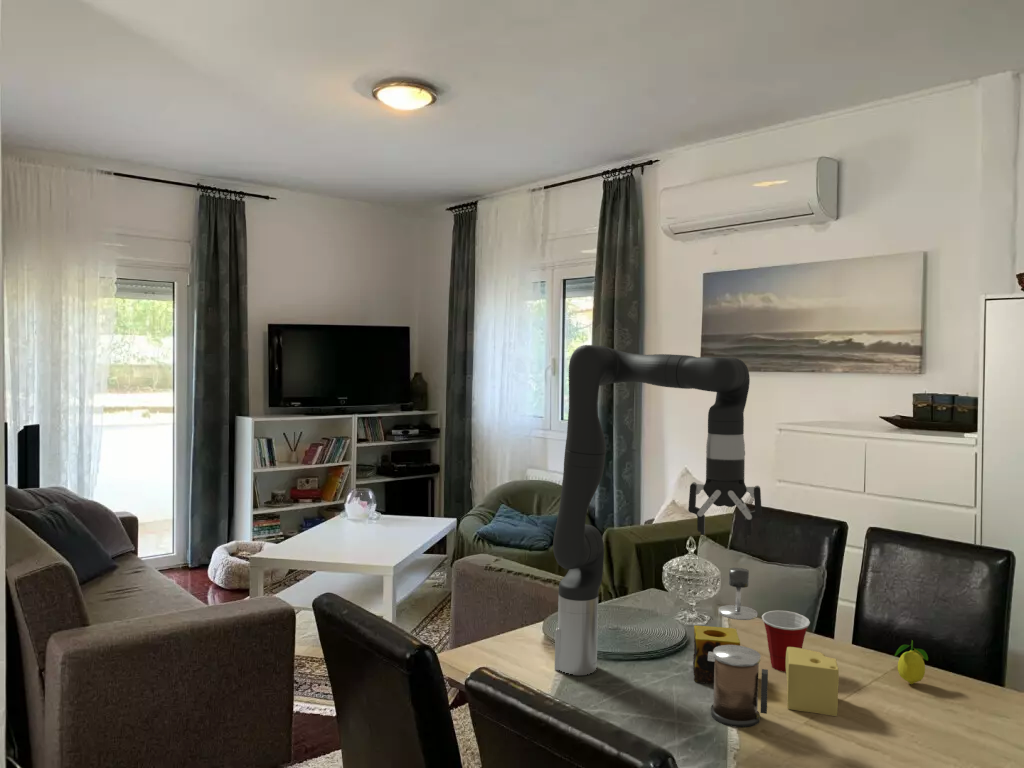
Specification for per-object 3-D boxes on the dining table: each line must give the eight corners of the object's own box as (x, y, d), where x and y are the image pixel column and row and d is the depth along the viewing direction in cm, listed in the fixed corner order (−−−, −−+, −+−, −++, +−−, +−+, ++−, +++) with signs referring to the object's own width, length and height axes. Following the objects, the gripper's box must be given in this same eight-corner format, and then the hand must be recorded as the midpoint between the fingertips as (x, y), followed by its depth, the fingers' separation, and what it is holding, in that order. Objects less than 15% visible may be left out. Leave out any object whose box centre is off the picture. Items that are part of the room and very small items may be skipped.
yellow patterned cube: (740, 687, 174) (741, 643, 174) (693, 683, 176) (694, 639, 176) (736, 670, 184) (738, 628, 184) (692, 666, 186) (693, 624, 186)
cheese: (835, 697, 170) (837, 652, 170) (839, 719, 160) (840, 670, 159) (784, 690, 173) (786, 645, 173) (784, 710, 163) (786, 662, 163)
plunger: (717, 617, 157) (718, 572, 156) (719, 606, 164) (720, 563, 164) (757, 621, 154) (758, 576, 154) (757, 610, 161) (758, 567, 161)
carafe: (704, 722, 157) (706, 657, 156) (708, 702, 166) (709, 641, 166) (766, 731, 153) (768, 665, 153) (766, 711, 162) (768, 648, 162)
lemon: (893, 685, 177) (894, 641, 176) (894, 676, 182) (895, 634, 182) (927, 692, 174) (928, 647, 173) (927, 682, 179) (928, 639, 178)
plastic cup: (757, 671, 183) (759, 620, 183) (762, 656, 193) (763, 607, 193) (807, 680, 179) (809, 628, 179) (809, 663, 189) (811, 614, 188)
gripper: (687, 456, 158) (686, 537, 158) (761, 459, 153) (760, 542, 154) (691, 452, 165) (690, 529, 165) (762, 455, 161) (761, 534, 161)
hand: (724, 535), depth 159 cm, fingers open, 8 cm apart
